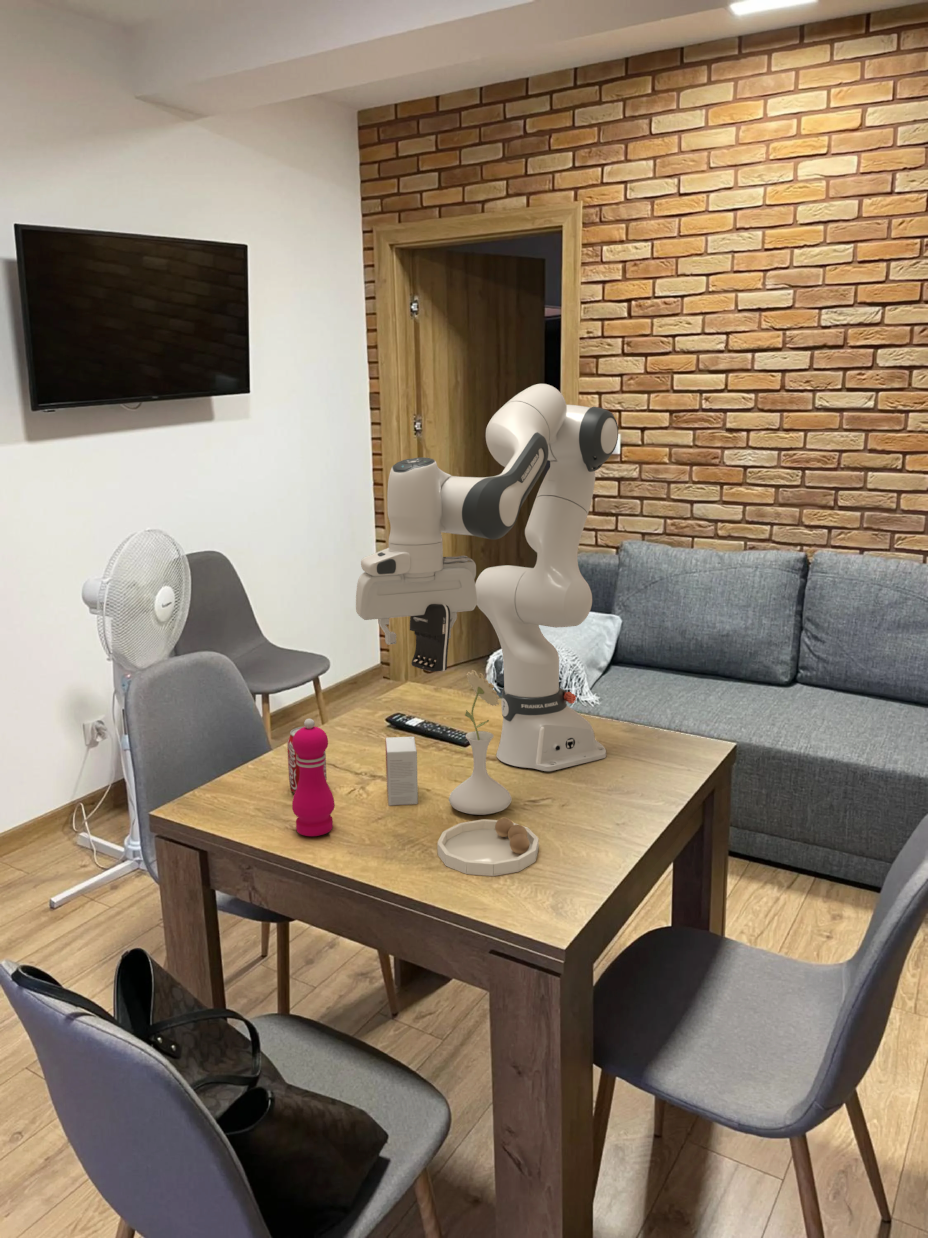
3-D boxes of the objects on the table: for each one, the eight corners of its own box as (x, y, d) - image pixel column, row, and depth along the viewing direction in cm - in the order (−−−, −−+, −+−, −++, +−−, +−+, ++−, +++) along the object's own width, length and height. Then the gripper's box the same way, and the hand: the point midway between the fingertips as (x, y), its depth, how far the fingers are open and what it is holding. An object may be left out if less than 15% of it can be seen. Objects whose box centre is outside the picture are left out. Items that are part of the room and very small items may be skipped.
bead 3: (525, 847, 158) (525, 829, 157) (532, 855, 155) (532, 837, 154) (506, 850, 157) (506, 832, 156) (514, 859, 154) (514, 840, 153)
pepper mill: (316, 841, 162) (311, 728, 158) (284, 832, 166) (278, 721, 162) (344, 825, 168) (339, 716, 164) (312, 816, 172) (306, 709, 168)
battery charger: (404, 666, 163) (407, 599, 161) (421, 664, 166) (425, 598, 164) (431, 674, 158) (434, 605, 156) (448, 672, 161) (452, 604, 159)
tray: (515, 825, 167) (515, 814, 167) (553, 865, 153) (553, 853, 152) (427, 839, 162) (426, 828, 162) (457, 882, 148) (457, 870, 147)
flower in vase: (518, 817, 171) (518, 681, 165) (455, 824, 168) (453, 686, 163) (500, 789, 183) (500, 662, 178) (441, 795, 181) (439, 666, 175)
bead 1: (510, 831, 164) (509, 813, 163) (517, 838, 161) (517, 821, 160) (492, 834, 163) (492, 816, 162) (499, 841, 160) (499, 823, 159)
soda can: (319, 799, 179) (316, 738, 177) (284, 797, 181) (280, 736, 178) (332, 785, 186) (329, 726, 184) (297, 782, 188) (294, 724, 185)
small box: (386, 789, 184) (384, 737, 182) (415, 787, 184) (414, 735, 182) (387, 806, 176) (386, 752, 174) (418, 804, 177) (417, 750, 174)
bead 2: (522, 838, 161) (522, 820, 160) (530, 846, 158) (530, 828, 157) (505, 841, 160) (505, 823, 159) (512, 849, 157) (512, 831, 156)
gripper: (469, 552, 164) (470, 631, 167) (351, 560, 158) (354, 642, 161) (482, 557, 158) (483, 639, 161) (360, 566, 152) (363, 651, 155)
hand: (418, 640), depth 161 cm, fingers open, 8 cm apart
